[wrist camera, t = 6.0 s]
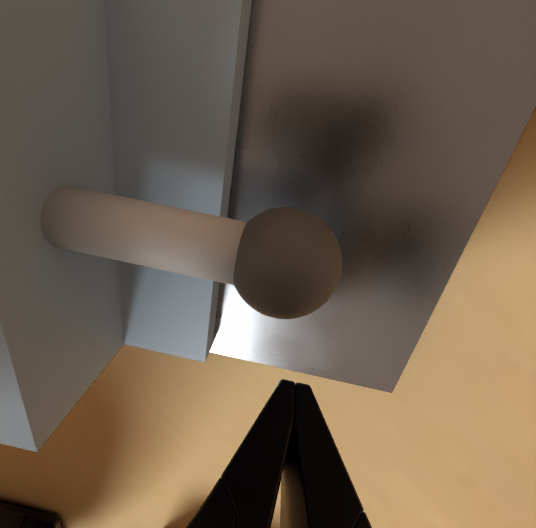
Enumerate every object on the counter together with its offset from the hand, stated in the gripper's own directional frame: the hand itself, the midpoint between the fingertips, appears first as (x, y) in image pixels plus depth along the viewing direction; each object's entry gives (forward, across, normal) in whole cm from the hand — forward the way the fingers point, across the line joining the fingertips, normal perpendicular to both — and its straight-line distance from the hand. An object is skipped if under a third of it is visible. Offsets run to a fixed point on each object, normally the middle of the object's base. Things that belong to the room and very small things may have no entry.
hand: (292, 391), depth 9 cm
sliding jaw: (+3, +4, -4) cm, 6 cm away
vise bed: (+3, +1, -4) cm, 5 cm away
